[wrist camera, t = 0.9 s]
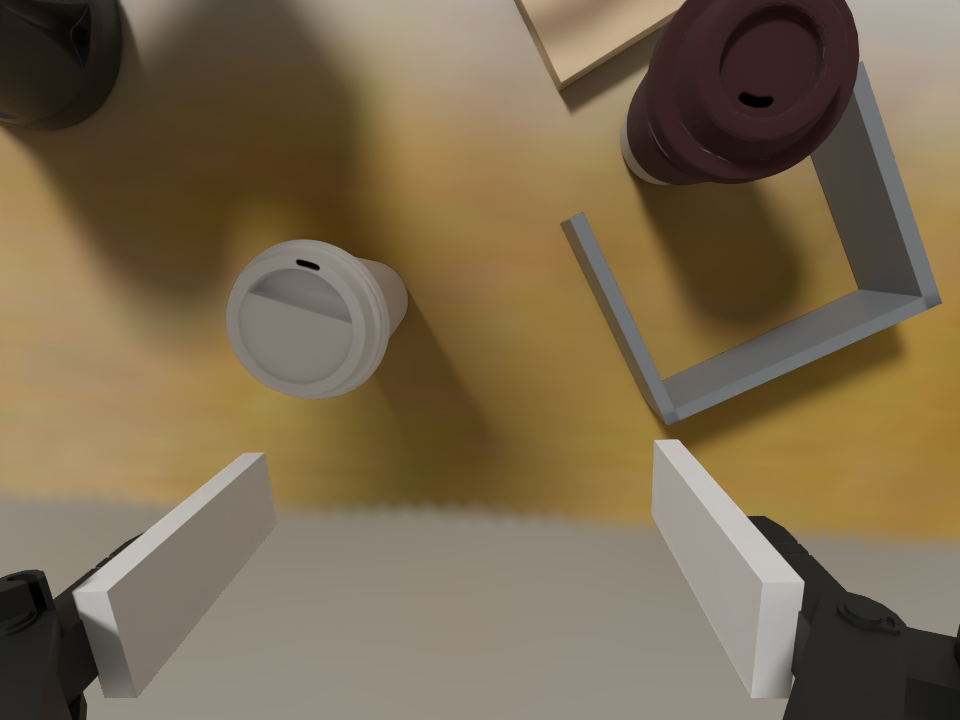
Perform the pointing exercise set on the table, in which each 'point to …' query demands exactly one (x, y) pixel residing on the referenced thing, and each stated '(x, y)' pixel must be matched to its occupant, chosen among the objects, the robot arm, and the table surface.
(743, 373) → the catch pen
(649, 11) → the board
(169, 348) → the table surface
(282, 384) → the coffee cup
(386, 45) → the table surface
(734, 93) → the coffee cup
